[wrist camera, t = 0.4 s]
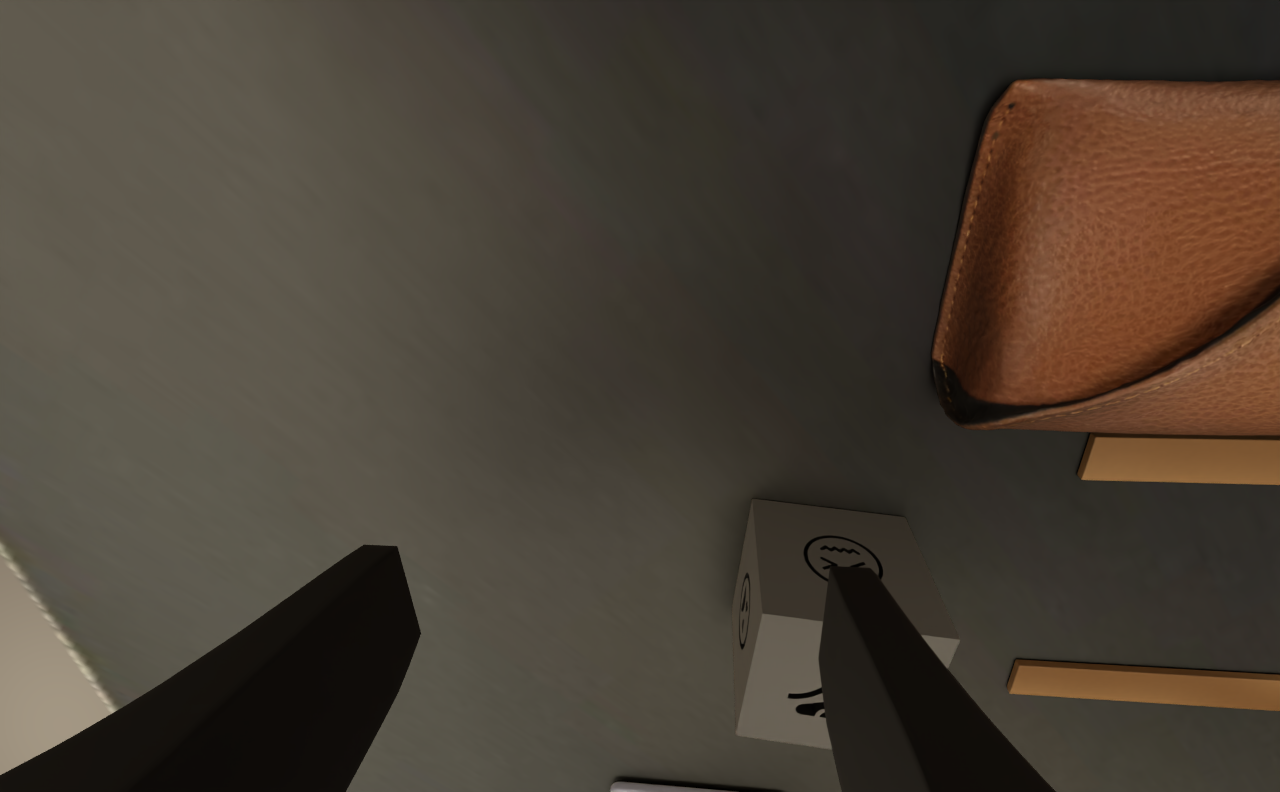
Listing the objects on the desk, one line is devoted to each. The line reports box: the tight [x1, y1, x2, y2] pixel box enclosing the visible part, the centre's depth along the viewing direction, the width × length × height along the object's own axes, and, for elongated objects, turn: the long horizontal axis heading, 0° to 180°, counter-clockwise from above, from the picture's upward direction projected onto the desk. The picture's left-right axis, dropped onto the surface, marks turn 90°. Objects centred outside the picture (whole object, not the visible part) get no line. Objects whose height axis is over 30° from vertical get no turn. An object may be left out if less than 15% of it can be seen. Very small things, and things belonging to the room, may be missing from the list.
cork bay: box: [1007, 433, 1280, 711], centre depth 19 cm, size 11×13×1 cm
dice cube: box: [732, 499, 960, 750], centre depth 19 cm, size 5×5×5 cm
